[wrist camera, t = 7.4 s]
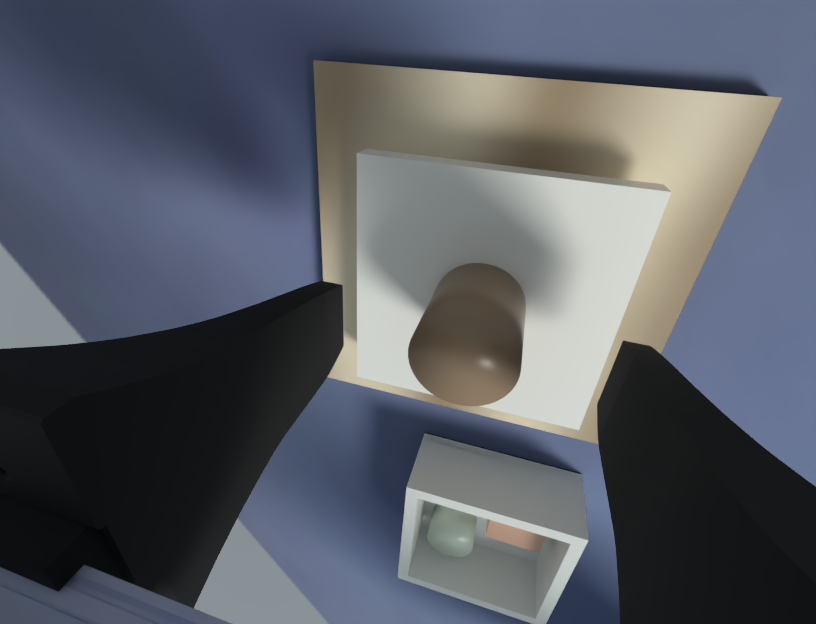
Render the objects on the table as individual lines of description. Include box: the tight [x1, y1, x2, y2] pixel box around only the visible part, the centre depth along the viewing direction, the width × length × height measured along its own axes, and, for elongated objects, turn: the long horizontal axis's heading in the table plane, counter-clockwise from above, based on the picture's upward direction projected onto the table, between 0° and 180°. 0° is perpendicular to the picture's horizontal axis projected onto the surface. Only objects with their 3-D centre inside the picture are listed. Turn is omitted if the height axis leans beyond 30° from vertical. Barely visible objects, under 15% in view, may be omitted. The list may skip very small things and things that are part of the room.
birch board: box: [313, 60, 782, 444], centre depth 14 cm, size 12×12×1 cm
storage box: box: [398, 433, 589, 624], centre depth 19 cm, size 7×7×3 cm
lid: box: [357, 149, 671, 430], centre depth 12 cm, size 8×8×5 cm
